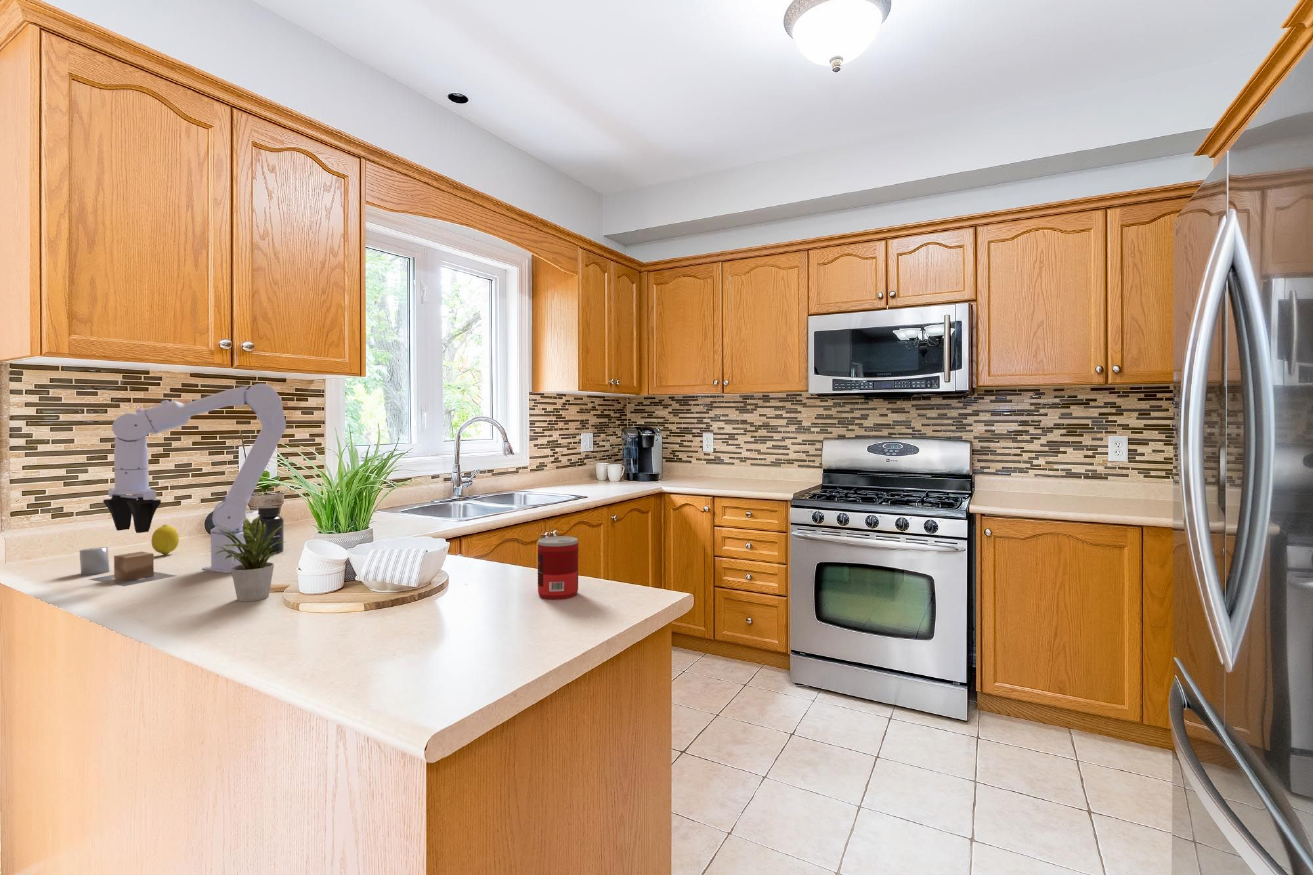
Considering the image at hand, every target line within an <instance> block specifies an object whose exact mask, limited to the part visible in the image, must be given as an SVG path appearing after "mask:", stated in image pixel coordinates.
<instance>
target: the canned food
mask: <svg viewBox="0 0 1313 875" xmlns="http://www.w3.org/2000/svg"><path fill="white" fill-rule="evenodd" d="M578 591H579V540H578V538H577V537H573V536H567V535H562V536H560V535H557V536H546V537H541V538H539V539H538V540H537V592H538V595H539V597H540V598H541V599H544V600H545V599H546V600H564V599H565V600H566V599H570V598H573V597H575V596H577V594H578Z"/></svg>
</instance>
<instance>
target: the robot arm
mask: <svg viewBox="0 0 1313 875" xmlns="http://www.w3.org/2000/svg"><path fill="white" fill-rule="evenodd" d="M245 403H246V405H247V406H248V408H250V409H251V410H252V411H253V413H254V414H256V416H257V418H258V420H259V423H260V424H261V429H260V431H259V432H258V435H257V437H256V438H255V440H254V442H253V444H252V446H251V449H250V450H249V453H248V454H247V457H246V458H245V460H244V462H243V464H242V466H241V467H240V470H239V471H238V474H237V476H236V477H235V479H234V481H233V483H232V485H231V486H230V489H229V490H228V492H227V494H226V496H225V498H224V499H223V500H222V501H219V503H218V504H217V505H215V507H214V508H213V513H212V516H211V519H212V524H215V525H214V527H213V528H211V529H210V565H208V566H203V567H202V570H203V571H204V570H205V571H210V572H217V573H223V574H229V573H232V572H231V568H232V567H234V566H237V565H241V564H242V563H241V562H239V561H238V560H237V559H235V561H234V557H233V556H232V557H229V558H227V559H226V557H227V556H228V555H230V554H229V553H227V552H226V551H225V552H220V553H218V554H216V553H217V552H219V551H222V550H224V549H222V548H225V549H226V550H232V551H235V552H236V553H241V552H240V550H239V549H238V548H237V547H236V546H225V544H234V542H233V541H232V540H231V539H229V538H228V537H226V536H225V535H219V534H226V533H224V532H228V531H229V530H230V531H231V532H232V533H233V534H234V535H235V536H236V537H237V538H238V539H239V540H240V541H241V543H242V544H246V542H245V539H244V537H243V535H244V533H243V522H244V521H245V518H246V509H247V507H248V505H249V502H250V501H251V497H252V495H253V494H254V491H255V489H256V488H257V486H258V484H259V482H260V479H261V477H262V475H263V474H264V471H265V470H266V468H267V466H268V464H269V462H270V460H271V458H272V456H273V454H274V452H275V450H276V449H277V446H278V444H279V442H280V441H281V439H282V436H283V434H285V433H284V432H285V431H286V429H287V421H286V417H285V413H284V408H283V407H284V406H283V402H282V399H281V397H280V395H279V394H278V392H277V391H276V389H275V388H274V387H272V386H271V385H269V384H267V383H256V384H253V385H251V386H250V387H249V385H247V386H246V385H245V386H240V387H236V388H229V389H226V390H223V391H220V392H217V393H214V394H210V395H208V396H205V397H202V398H199V399H195V400H193V401H190V402H186V403H182V402H180V401H177V400H172V401H169V399H168V400H167V399H166V400H165V399H164V400H163V401H161V402H160V404H158V405H155V406H151V407H148V408H146V409H145V408H144V409H142V408H136V409H135V411H134V412H135V413H130V412H126V413H124V414H123V415H120V416H118V417H117V418H116V419H114V421H113V422H112V425H111V430H112V431H113V434H114V435H115V438H114V441H113V442H114V448H113V458H114V460H113V464H114V466H113V467H114V468H113V469H114V471H113V472H114V487H109V488H108V497H109V498H108V499H103V504H104V505H105V506H106V508H107V509H108V510H109V513H110V515H111V517H112V521H113V524H114V527H115V529H116V531H119V532H120V531H126V530H130V528H131V523H132V520H133V527H134V531H135V533H136V534H140V533H148V532H149V531H150V529H151V525H152V521H153V518H154V515H155V514H156V511H157V510H158V508H159V506H160V505H161V503H162V500H161V499H157V490H156V489H152V488H150V487H149V486H150V485H149V484H150V483H149V481H150V480H149V479H150V478H149V477H150V476H149V448H148V443H147V442H148V441H147V436H148V435H149V434H152V435H156V434H159V433H162V432H165V431H166V432H167V431H170V430H172V429H175V428H179V427H181V426H185V425H187V424H188V423H189V420H190V419H191V417H194V416H197V415H201V414H204V413H207V412H211V411H212V412H213V411H215V410H218V409H221V408H225V407H228V406H229V407H230V406H232V407H233V406H234V407H241V408H245ZM219 525H221V526H219ZM222 526H224V527H226V528H227V529H229V530H227V529H226V528H224V527H222ZM219 529H222V530H219ZM226 530H227V531H226ZM220 531H224V532H220ZM230 531H229V532H228V533H230ZM230 534H231V533H230ZM226 535H228V534H226ZM229 536H230V535H229ZM230 537H231V536H230ZM233 539H234V538H233ZM234 540H235V539H234ZM235 541H236V540H235ZM255 541H256V538H255ZM236 542H237V541H236ZM237 543H238V542H237ZM214 546H218V547H214ZM220 547H222V548H220ZM240 548H241V547H240ZM241 549H242V548H241ZM232 551H231V552H232ZM242 551H243V552H244V550H243V549H242ZM235 552H234V553H235ZM244 553H245V552H244ZM215 554H216V555H215ZM231 554H232V553H231ZM232 555H233V554H232ZM242 556H243V555H242ZM245 556H246V555H245ZM225 559H226V560H225ZM238 559H239V558H238ZM239 560H240V559H239ZM240 561H241V560H240Z"/></svg>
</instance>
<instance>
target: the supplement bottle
mask: <svg viewBox="0 0 1313 875" xmlns="http://www.w3.org/2000/svg"><path fill="white" fill-rule="evenodd" d="M257 509H258V510H257V515H258V516H259V515H260V516H259V518H258V522H257V527H256V534H255V538H257V533H258V525H259V520H260V521H261V524H262V528H263V524H264V523H265V525H266V533H265V536H264V540H263V543H264V542H265V540H266V538H267V537H268V536H269V535H270V534H271V533H272V532H273V531H274V530H276V529H277V528H279V527H280V528H279V529H278V530H277V531H276V533H275V534H274V535H273V537H272V538H271V540H270V542H269V543H268V545H267V546H266V548H265V550H264V551H263V553H262V554H261V555H263V554H264V552H265V551H266V550H267V548H268V547H270V546H271V545H273V544H275V543H277V544H275V545H273V546H272V550H271V551H270V553H269V554H271V553H273V552H278V553H281V552H282V553H283V551H284V547H285V546H284V545H285V544H284V543H285V541H284V539H285V535H284V534H285V533H284V532H285V520H284V518H283V517H282V516H280V506H274V505H270V506H269V505H268V506H259V507H258V508H257ZM283 524H284V525H283ZM282 525H283V526H282ZM281 526H282V527H281ZM278 542H282V543H278ZM262 546H263V544H262ZM280 551H281V552H280ZM278 553H277V554H278ZM269 554H268V555H269Z"/></svg>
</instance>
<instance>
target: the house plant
mask: <svg viewBox="0 0 1313 875" xmlns="http://www.w3.org/2000/svg"><path fill="white" fill-rule="evenodd" d="M259 516H260V515H258V516H257V517H255V518H254V519H252V521H250V520H249V519H248V518H246V517H245V521H244V522H243V533H244V535H243V537H244V539H245V542H246V544H242V543H241V541H240V540H239V539H238V538H237V537H236V536H235V535H234V534H233V533H232V532H231V531H230V530H229V529H227V528H226V527H224V526H222V527H224V528H226V529H227V530H229V531H230V533H231V534H230V533H228V532H229V531H228V532H224V531H220V532H224V533H226V534H228V535H226V534H219V535H225V536H226V537H228V538H229V539H231V540H232V541H233V542H234V544H225V546H236V547H237V548H238V549H239V550H240V552H241V553H236V552H235V551H232V550H226V549H225V548H222V547H220V548H222V549H224V550H222V551H219V552H217V553H216V554H218V553H220V552H225V551H226V552H227V553H229V554H230V555H228V556H227V557H226V559H227V558H229V557H232V556H233V557H234V561H235V559H237V560H238V561H239V562H241V563H242V564H241V565H237V566H234V567H232V568H231V572H230V573H231V576H232V581H233V585H234V590H235V596H236V601H238V602H254V601H260V600H264V599H267V598H269V596H270V591H271V586H272V578H273V574H274V573H273V572H274V567H275V564H274V562H269V561H268V560H269V559H270V558H271V557H272V556H274V555H275V554H278V552H273V553H271V554H269V553H270V551H271V550H272V546H273V545H275V544H277V543H275V544H273V545H271V546H270V547H268V548H267V550H266V551H265V552H264V554H262V553H263V551H264V550H265V548H266V546H267V545H268V543H269V542H270V540H271V538H272V537H273V535H274V534H275V533H276V531H277V530H278V529H279V528H280V527H279V528H277V529H276V530H274V531H273V532H272V533H271V534H270V535H269V536H268V537H267V538H266V540H265V542H264V543H263V540H264V536H265V533H266V525H265V523H264V524H263V528H262V524H261V521H260V520H259V525H258V533H257V538H256V541H255V534H256V527H257V522H258V518H259ZM210 525H214V526H215V524H214V523H212V524H210ZM283 525H284V526H285V523H284V524H283ZM283 525H282V526H283ZM219 526H221V525H219ZM282 526H281V527H282ZM219 530H222V529H219ZM227 530H226V531H227ZM229 535H230V536H231V537H230V536H229ZM233 538H234V539H235V540H236V541H237V542H238V543H237V542H236V541H235V540H234V539H233ZM278 543H282V542H278ZM284 543H286V544H287V542H286V541H284ZM262 544H263V546H262ZM214 547H218V546H214ZM240 547H241V548H242V549H243V550H244V552H245V553H244V552H243V551H242V549H241V548H240ZM231 551H232V552H231ZM234 552H235V553H234ZM231 553H232V554H233V555H232V554H231ZM279 553H281V554H283V551H282V552H281V551H280V552H279ZM216 554H215V555H216ZM242 555H243V556H242ZM245 555H246V556H245ZM238 558H239V559H240V560H241V561H240V560H239V559H238ZM226 559H225V560H226Z"/></svg>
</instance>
